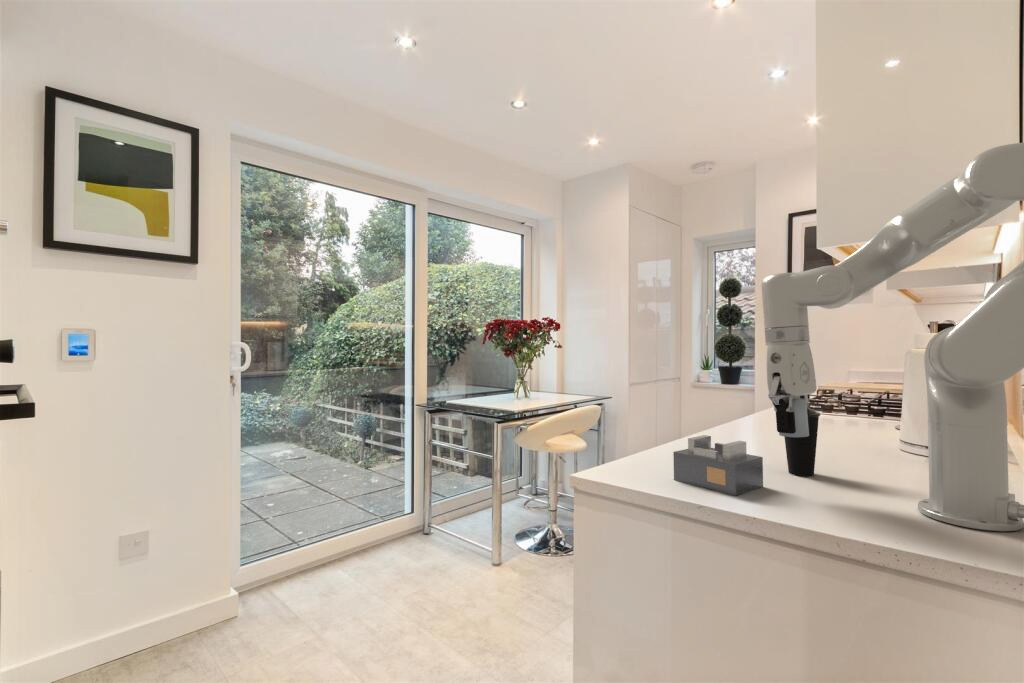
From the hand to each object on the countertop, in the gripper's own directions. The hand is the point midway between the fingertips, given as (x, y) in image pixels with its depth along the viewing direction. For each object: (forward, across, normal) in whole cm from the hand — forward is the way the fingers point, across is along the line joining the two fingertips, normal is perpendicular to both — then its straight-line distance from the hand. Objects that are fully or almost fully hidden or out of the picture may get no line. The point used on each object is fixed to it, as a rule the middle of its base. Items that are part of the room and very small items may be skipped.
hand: (793, 429), depth 93 cm
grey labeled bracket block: (+12, -6, +14) cm, 19 cm away
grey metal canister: (+1, 0, 0) cm, 1 cm away
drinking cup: (+13, +15, +6) cm, 21 cm away
